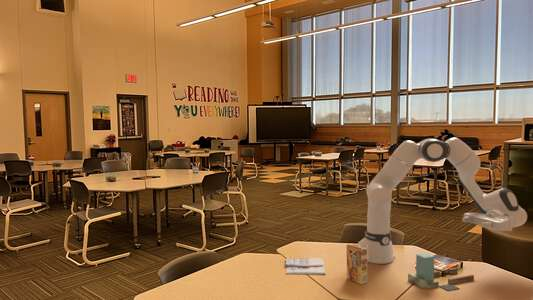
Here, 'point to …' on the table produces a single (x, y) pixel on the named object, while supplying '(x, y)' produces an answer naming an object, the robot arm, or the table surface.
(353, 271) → the candy box
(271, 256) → the table surface
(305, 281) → the table surface
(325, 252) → the table surface
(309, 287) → the table surface
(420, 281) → the channel
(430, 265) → the teal block
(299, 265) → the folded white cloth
